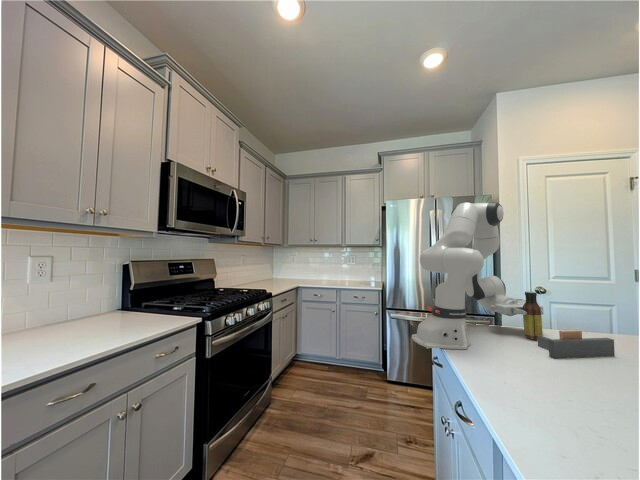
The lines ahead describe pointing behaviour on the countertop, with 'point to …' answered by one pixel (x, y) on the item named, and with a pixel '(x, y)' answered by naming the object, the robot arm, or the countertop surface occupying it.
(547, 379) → the countertop surface
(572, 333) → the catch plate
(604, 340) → the grey base block
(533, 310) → the sauce bottle
